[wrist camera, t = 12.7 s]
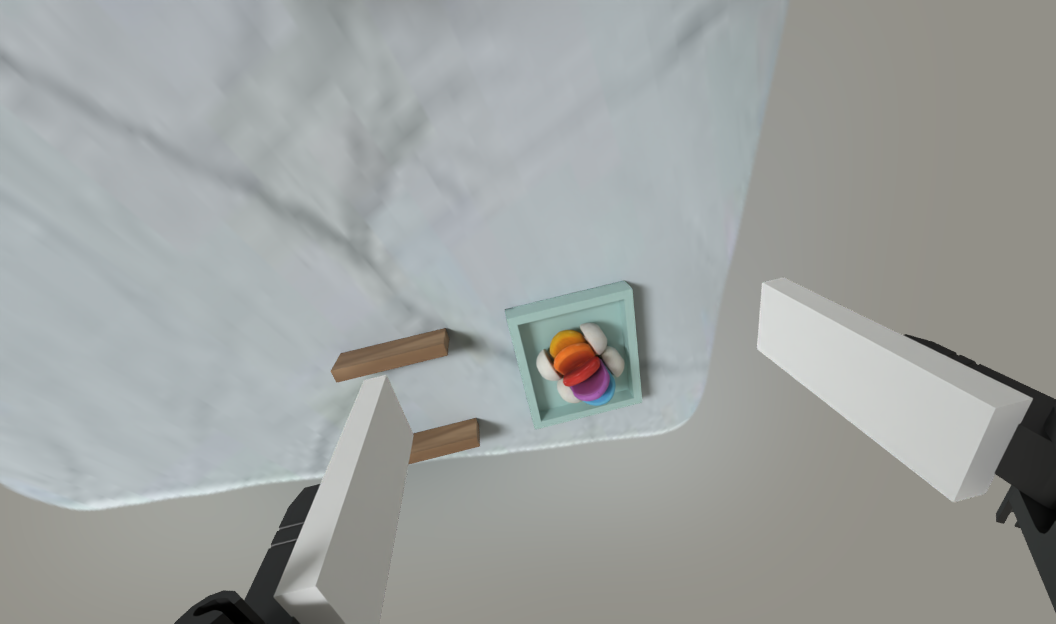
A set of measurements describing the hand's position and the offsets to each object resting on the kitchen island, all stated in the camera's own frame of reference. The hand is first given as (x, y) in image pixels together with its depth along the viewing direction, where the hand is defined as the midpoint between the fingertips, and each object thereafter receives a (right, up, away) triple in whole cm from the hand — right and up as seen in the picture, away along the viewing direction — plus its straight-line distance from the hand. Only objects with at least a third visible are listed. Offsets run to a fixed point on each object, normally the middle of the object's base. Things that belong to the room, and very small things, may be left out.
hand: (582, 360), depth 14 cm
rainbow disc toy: (+4, -3, +34) cm, 34 cm away
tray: (+4, -3, +34) cm, 34 cm away
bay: (-16, -8, +34) cm, 38 cm away
